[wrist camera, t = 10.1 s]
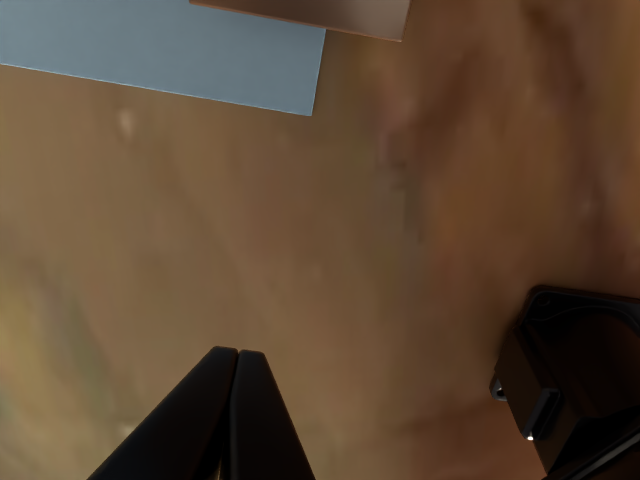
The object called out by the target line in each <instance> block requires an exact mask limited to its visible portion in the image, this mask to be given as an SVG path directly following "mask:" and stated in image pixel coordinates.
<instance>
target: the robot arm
mask: <svg viewBox="0 0 640 480" xmlns="http://www.w3.org/2000/svg"><path fill="white" fill-rule="evenodd" d="M541 296H545V298H544V299H542V300H538V299H539V298H540V297H541ZM489 389H490V392H491V395H492V397H493V398H494V399H496V400H500V401H507V402H508V404H509V407H510V409H511V411H512V414H513V416H514V419H515V421H516V424H517V426H518V428H519V431H520V433H521V434H522V436H523V437H524V438H525V439H531V440H532V441H533V443H534V446H535V448H536V450H537V453H538V455H539V458H540V460H541V462H542V465H543V467H544V469H545V472H546V474H547V476H546V477H544V478H543V479H541V480H640V300H637V299H631V298H624V297H617V296H610V295H603V294H597V293H590V292H583V291H576V290H570V289H563V288H556V287H549V286H538V287H535V288H534V289H533V290H532V291H531V292H530V293H529V296H528V298H527V300H526V303H525V305H524V307H523V310H522V312H521V314H520V317H519V319H518V321H517V324H516V326H514V327H513V328H512V329H511V331H510V333H509V335H508V338H507V340H506V342H505V345H504V347H503V349H502V352H501V354H500V356H499V359H498V361H497V363H496V366H495V374H494V377H493V379H492V381H491V384H490V387H489ZM500 389H503V390H501V391H498V390H500ZM219 471H220V474H219ZM218 476H219V480H316V479H315V477H314V474H313V472H312V470H311V467H310V465H309V462H308V460H307V457H306V455H305V452H304V450H303V447H302V445H301V443H300V440H299V438H298V435H297V433H296V430H295V428H294V425H293V423H292V420H291V418H290V416H289V413H288V411H287V408H286V406H285V403H284V401H283V398H282V396H281V394H280V391H279V389H278V386H277V384H276V381H275V379H274V376H273V374H272V371H271V369H270V367H269V364H268V362H267V359H266V357H265V355H264V353H262V352H259V351H251V350H241V351H240V352H239V354H238V350H237V349H235V348H229V347H222V346H215V347H213V348H212V349H211V350H210V351H209V352H208V353H207V354H206V355H205V356H204V357H203V358H202V359H201V360H200V362H199V363H198V364H197V365H196V366H195V367H194V368H193V369H192V370H191V371H190V372H189V373H188V374H187V375H186V376H185V377H184V378H183V379H182V380H181V381H180V382H179V384H178V385H177V386H176V387H175V388H174V389H173V390H172V391H171V392H170V393H169V394H168V395H167V396H166V397H165V398H164V399H163V400H162V401H161V402H160V403H159V404H158V405H157V407H156V408H155V409H154V410H153V411H152V412H151V413H150V414H149V415H148V416H147V417H146V418H145V419H144V420H143V421H142V422H141V423H140V424H139V425H138V426H137V427H136V428H135V430H134V431H133V432H132V433H131V434H130V435H129V436H128V437H127V438H126V439H125V440H124V441H123V442H122V443H121V444H120V445H119V446H118V447H117V448H116V449H115V450H114V451H113V453H112V454H111V455H110V456H109V457H108V458H107V459H106V460H105V461H104V462H103V463H102V464H101V465H100V466H99V467H98V468H97V469H96V470H95V471H94V472H93V473H92V474H91V476H90V477H89V478H88V479H87V480H218Z"/></svg>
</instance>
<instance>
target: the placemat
mask: <svg viewBox="0 0 640 480" xmlns="http://www.w3.org/2000/svg"><path fill="white" fill-rule="evenodd" d="M325 32H326V29H323V28H318V27H313V26H307V25H302V24H296V23H291V22H285V21H280V20H274V19H269V18H263V17H258V16H252V15H247V14H242V13H236V12H231V11H225V10H220V9H214V8H209V7H203V6H198V5H192V4H190V3H189V0H0V64H4V65H10V66H16V67H22V68H28V69H34V70H40V71H46V72H52V73H57V74H63V75H69V76H75V77H81V78H87V79H93V80H99V81H105V82H111V83H117V84H123V85H129V86H134V87H140V88H146V89H152V90H158V91H164V92H170V93H176V94H182V95H188V96H194V97H200V98H205V99H211V100H217V101H223V102H229V103H235V104H241V105H247V106H253V107H259V108H265V109H271V110H276V111H282V112H288V113H294V114H300V115H306V116H311V115H312V110H313V104H314V98H315V92H316V86H317V80H318V74H319V68H320V62H321V56H322V50H323V44H324V38H325Z"/></svg>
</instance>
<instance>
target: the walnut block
mask: <svg viewBox="0 0 640 480" xmlns="http://www.w3.org/2000/svg"><path fill="white" fill-rule="evenodd" d="M189 3H190V4H192V5H198V6H203V7H209V8H214V9H220V10H225V11H231V12H236V13H242V14H247V15H252V16H258V17H263V18H269V19H274V20H280V21H285V22H291V23H296V24H302V25H307V26H313V27H318V28H323V29H329V30H334V31H340V32H345V33H351V34H356V35H362V36H367V37H373V38H378V39H383V40H389V41H394V42H402V40H403V38H404V34H405V29H406V25H407V21H408V17H409V12H410V8H411V4H412V0H189Z"/></svg>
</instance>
